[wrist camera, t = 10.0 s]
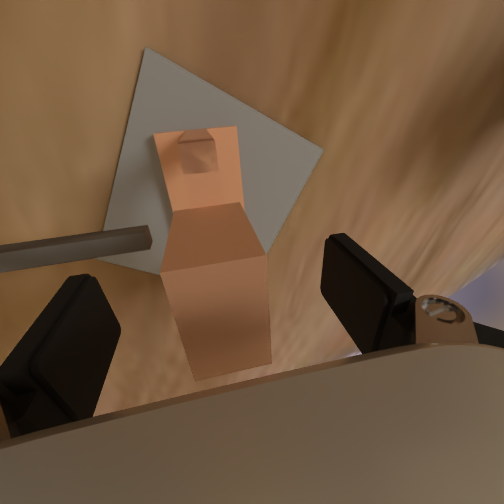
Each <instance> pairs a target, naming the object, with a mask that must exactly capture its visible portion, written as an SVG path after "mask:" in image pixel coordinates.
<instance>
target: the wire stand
mask: <svg viewBox="0 0 504 504" xmlns="http://www.w3.org/2000/svg"><path fill="white" fill-rule="evenodd" d="M152 243H153V240H152V236H151V233H150V230H149V227H148V225H143V226H136V227H128V228H121V229H114V230H107V231H100V232H93V233H86V234H79V235H72V236H64V237H57V238H50V239H43V240H36V241H29V242H22V243H15V244H7V245H0V273H2V272H8V271H15V270H21V269H28V268H34V267H41V266H47V265H54V264H60V263H67V262H73V261H80V260H86V259H92V258H99V257H105V256H112V255H118V254H125V253H131V252H138V251H144V250H150V249H151V246H152Z"/></svg>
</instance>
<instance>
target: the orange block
mask: <svg viewBox="0 0 504 504" xmlns="http://www.w3.org/2000/svg"><path fill="white" fill-rule="evenodd" d="M153 135H154V139H155V143H156V147H157V151H158V155H159V159H160V163H161V167H162V171H163V175H164V179H165V183H166V186H167V190H168V194H169V198H170V202H171V206H172V210H173V217H172V221H171V226H170V230H169V235H168V239H167V243H166V248H165V252H164V257H163V261H162V265H161V270H160V275H161V279H162V282H163V285H164V288H165V291H166V294H167V297H168V300H169V303H170V306H171V309H172V312H173V315H174V318H175V321H176V325H177V328H178V331H179V334H180V337H181V340H182V343H183V346H184V349H185V352H186V355H187V358H188V361H189V364H190V367H191V371H192V374H193V377H194V380H195V381H199V380H203V379H207V378H212V377H216V376H220V375H224V374H229V373H233V372H237V371H242V370H246V369H250V368H254V367H259V366H263V365H267V364H272V355H271V336H270V316H269V296H268V277H267V257H266V253H265V251H264V249H263V247H262V245H261V243H260V241H259V239H258V237H257V235H256V233H255V231H254V229H253V227H252V225H251V224H250V222H249V220H248V218H247V216H246V214H245V209H244V199H243V188H242V177H241V167H240V156H239V145H238V135H237V126H224V127H213V128H203V129H192V130H181V131H171V132H160V133H154V134H153Z"/></svg>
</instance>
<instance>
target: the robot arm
mask: <svg viewBox="0 0 504 504" xmlns="http://www.w3.org/2000/svg"><path fill="white" fill-rule="evenodd" d="M320 289H321V293H322V295H323V297H324V298H325V300H326V301H327V303H328V304H329V306H330V307H331V309H332V310H333V311H334V313H335V314H336V316H337V317H338V319H339V320H340V322H341V323H342V325H343V326H344V328H345V329H346V331H347V332H348V334H349V335H350V337H351V338H352V339H353V341H354V342H355V344H356V345H357V347H358V348H359V350H360V351H361V353H362V354H361V355H356V356H352V357H347V358H343V359H339V360H334V361H330V362H325V363H321V364H317V365H312V366H308V367H303V368H299V369H295V370H290V371H286V372H281V373H277V374H273V375H268V376H264V377H260V378H256V379H251V380H247V381H243V382H238V383H234V384H230V385H225V386H221V387H217V388H213V389H208V390H204V391H200V392H195V393H191V394H187V395H183V396H179V397H174V398H170V399H166V400H162V401H158V402H153V403H149V404H145V405H141V406H137V407H132V408H128V409H124V410H120V411H116V412H111V413H107V414H103V415H99V416H95V417H93V414H94V411H95V408H96V405H97V402H98V399H99V396H100V393H101V390H102V388H103V385H104V382H105V379H106V376H107V373H108V370H109V367H110V364H111V361H112V358H113V355H114V352H115V349H116V346H117V343H118V340H119V337H120V334H121V327H120V324H119V322H118V320H117V318H116V316H115V314H114V312H113V310H112V308H111V306H110V304H109V302H108V300H107V299H106V297H105V295H104V293H103V291H102V289H101V287H100V285H99V283H98V281H97V279H96V278H95V277H91V276H90V275H89V274H81V275H75V276H70V277H68V278H67V280H66V281H65V282H64V284H63V285H62V286H61V288H60V289H59V290H58V292H57V293H56V294H55V295H54V297H53V298H52V299H51V301H50V302H49V303H48V305H47V306H46V307H45V309H44V310H43V311H42V312H41V314H40V315H39V316H38V318H37V319H36V320H35V322H34V323H33V324H32V326H31V327H30V328H29V330H28V331H27V332H26V333H25V335H24V336H23V337H22V339H21V340H20V341H19V343H18V344H17V345H16V347H15V348H14V349H13V350H12V352H11V353H10V354H9V356H8V357H7V358H6V360H5V361H4V362H3V364H2V365H1V366H0V504H504V331H502V330H499V329H495V328H492V327H489V326H485V325H482V324H479V323H475V322H473V320H472V317H471V315H470V313H469V312H468V311H467V310H466V309H465V308H464V307H463V306H462V305H460V304H459V303H457V302H455V301H453V300H451V299H449V298H446V297H442V296H438V295H423V296H420V297H419V298H418V299H417V298H416V297H415V296H414V295H413V292H414V291H413V290H412V289H411V288H410V287H409V286H407V285H406V284H405V283H404V282H403V281H401V280H400V279H399V278H398V277H397V276H395V275H394V274H393V273H392V272H391V271H389V270H388V269H387V268H386V267H385V266H383V265H382V264H381V263H380V262H379V261H377V260H376V259H375V258H374V257H373V256H371V255H370V254H369V253H368V252H367V251H365V250H364V249H363V248H362V247H361V246H359V245H358V244H357V243H356V242H355V241H353V240H352V239H351V238H350V237H349V236H347V235H346V234H345V233H339V234H332V235H330V236H329V238H328V239H326V240H325V247H324V257H323V267H322V277H321V286H320Z"/></svg>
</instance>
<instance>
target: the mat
mask: <svg viewBox="0 0 504 504" xmlns="http://www.w3.org/2000/svg"><path fill="white" fill-rule="evenodd" d="M224 126H237V135H238V145H239V156H240V167H241V177H242V188H243V199H244V209H245V214H246V216H247V218H248V220H249V222H250V224H251V225H252V227H253V229H254V231H255V233H256V235H257V237H258V239H259V241H260V243H261V245H262V247H263V249H264V251H265V253H266V255H267V253H268V251H269V249H270V247H271V245H272V244H273V242H274V240H275V238H276V236H277V234H278V233H279V231H280V229H281V227H282V225H283V223H284V222H285V220H286V218H287V216H288V214H289V212H290V211H291V209H292V207H293V205H294V203H295V201H296V200H297V198H298V196H299V194H300V192H301V191H302V189H303V187H304V185H305V183H306V181H307V180H308V178H309V176H310V174H311V172H312V170H313V169H314V167H315V165H316V163H317V161H318V159H319V158H320V156H321V154H322V152H323V149H322V148H320V147H318V146H316V145H315V144H313V143H311V142H310V141H308V140H306V139H304V138H303V137H301V136H299V135H297V134H296V133H294V132H292V131H291V130H289V129H287V128H285V127H284V126H282V125H280V124H278V123H277V122H275V121H273V120H272V119H270V118H268V117H266V116H265V115H263V114H261V113H259V112H258V111H256V110H254V109H253V108H251V107H249V106H247V105H246V104H244V103H242V102H241V101H239V100H237V99H235V98H234V97H232V96H230V95H228V94H227V93H225V92H223V91H222V90H220V89H218V88H216V87H215V86H213V85H211V84H209V83H208V82H206V81H204V80H203V79H201V78H199V77H197V76H196V75H194V74H192V73H190V72H189V71H187V70H185V69H184V68H182V67H180V66H178V65H177V64H175V63H173V62H171V61H170V60H168V59H166V58H165V57H163V56H161V55H159V54H158V53H156V52H154V51H153V50H151V49H149V48H147V47H146V48H145V52H144V56H143V60H142V65H141V69H140V73H139V78H138V82H137V86H136V91H135V95H134V99H133V103H132V108H131V112H130V116H129V121H128V125H127V129H126V134H125V138H124V142H123V146H122V151H121V155H120V159H119V164H118V168H117V172H116V177H115V181H114V185H113V189H112V194H111V198H110V202H109V207H108V211H107V215H106V220H105V224H104V228H103V231H107V230H114V229H121V228H128V227H136V226H143V225H148V227H149V230H150V233H151V236H152V240H153V243H152V246H151V249H150V250H144V251H138V252H131V253H125V254H118V255H112V256H105V257H99V258H96V259H97V260H101V261H105V262H109V263H113V264H117V265H121V266H125V267H129V268H133V269H137V270H141V271H145V272H149V273H153V274H157V275H160V270H161V265H162V261H163V257H164V252H165V248H166V243H167V239H168V235H169V230H170V226H171V221H172V217H173V210H172V206H171V202H170V198H169V194H168V190H167V186H166V183H165V179H164V175H163V171H162V167H161V163H160V159H159V155H158V151H157V147H156V143H155V139H154V135H153V134H154V133H160V132H171V131H181V130H192V129H203V128H213V127H224Z"/></svg>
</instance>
